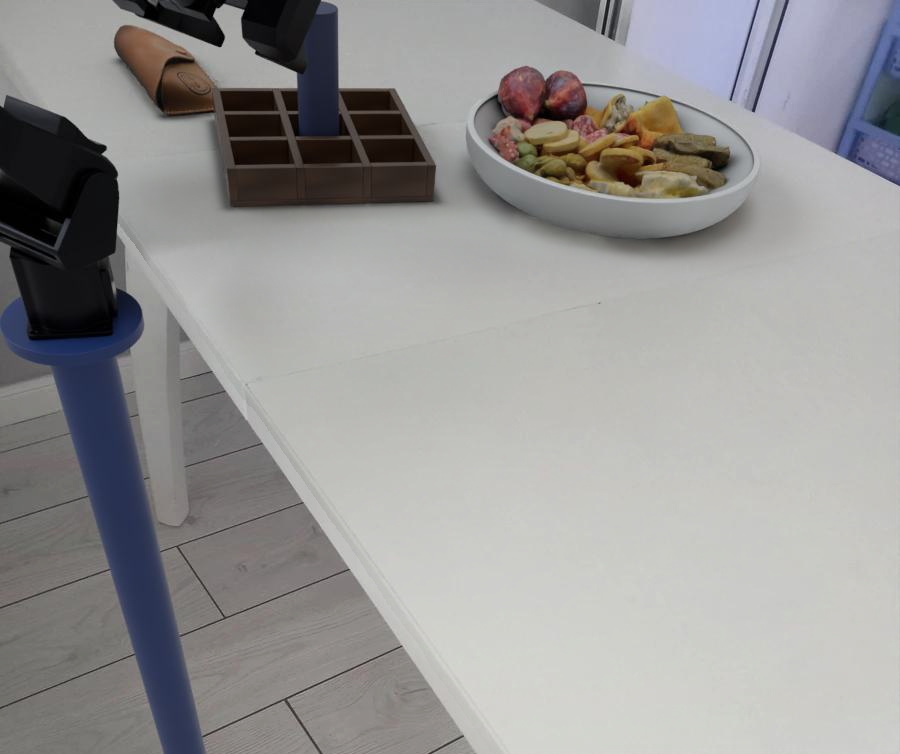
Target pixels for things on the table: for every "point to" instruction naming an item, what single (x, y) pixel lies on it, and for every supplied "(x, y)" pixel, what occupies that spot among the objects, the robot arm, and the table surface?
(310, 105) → the navy round peg
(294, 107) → the grid
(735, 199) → the bowl
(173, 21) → the robot arm
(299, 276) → the table surface
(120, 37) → the sunglasses case
